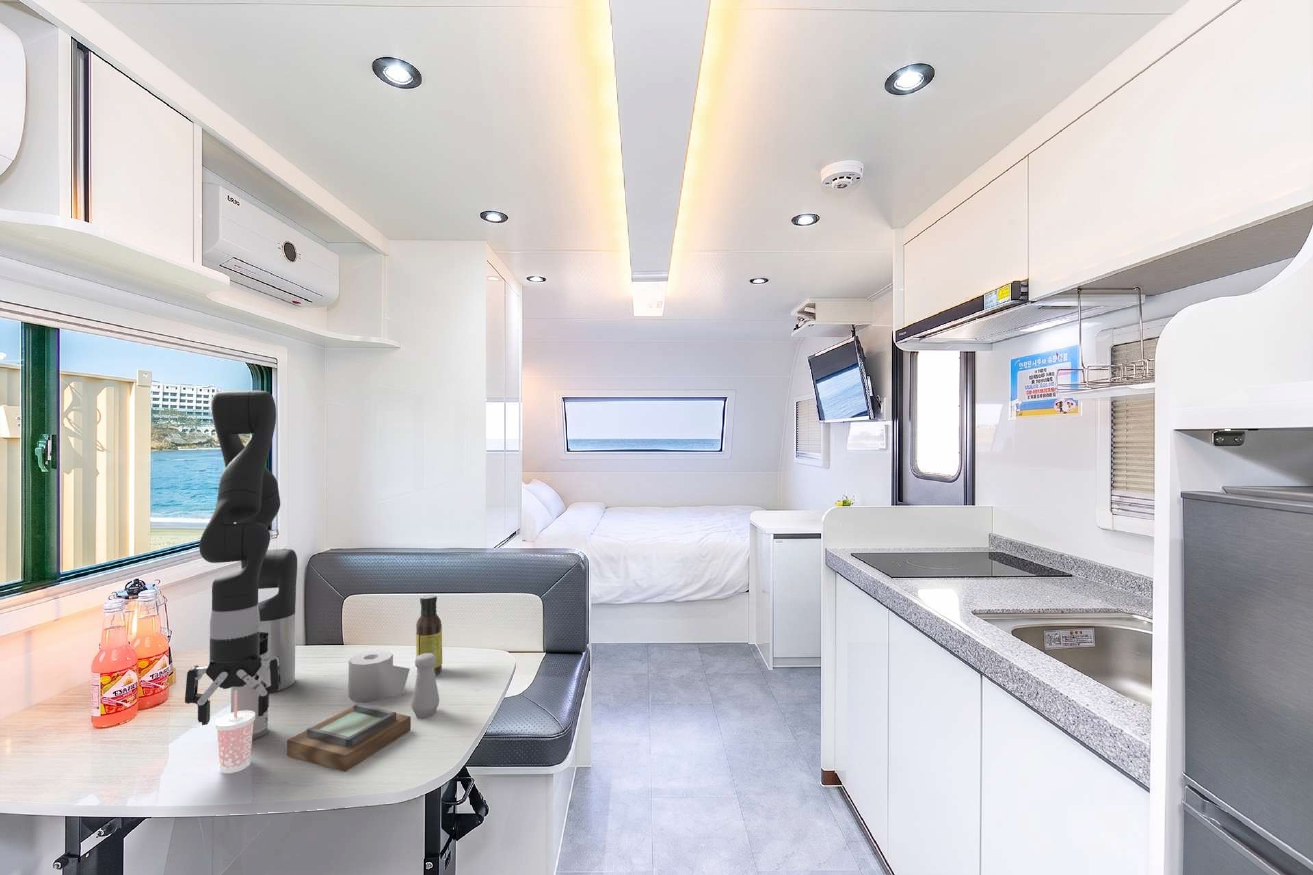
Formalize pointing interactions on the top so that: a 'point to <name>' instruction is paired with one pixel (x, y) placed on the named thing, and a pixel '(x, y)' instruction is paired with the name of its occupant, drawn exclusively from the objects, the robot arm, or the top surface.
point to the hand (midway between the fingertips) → (234, 718)
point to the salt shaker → (425, 687)
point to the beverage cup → (235, 739)
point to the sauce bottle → (429, 631)
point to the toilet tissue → (375, 676)
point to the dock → (349, 737)
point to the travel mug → (254, 694)
